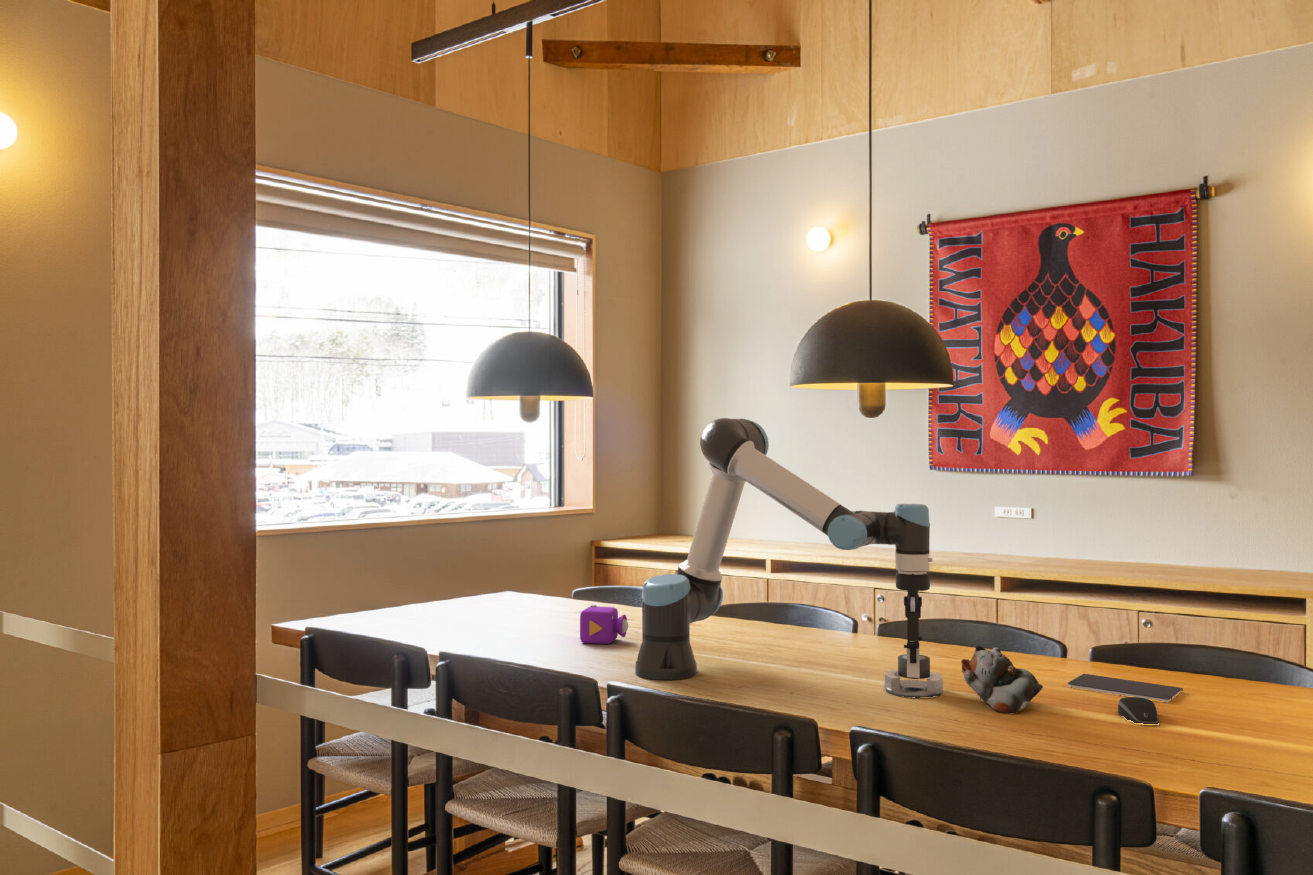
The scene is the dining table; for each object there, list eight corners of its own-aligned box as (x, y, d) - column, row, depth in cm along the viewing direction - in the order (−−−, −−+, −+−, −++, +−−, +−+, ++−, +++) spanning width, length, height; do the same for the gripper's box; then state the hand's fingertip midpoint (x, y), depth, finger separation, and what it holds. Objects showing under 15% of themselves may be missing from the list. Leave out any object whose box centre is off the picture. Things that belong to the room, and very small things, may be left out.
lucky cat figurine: (1015, 718, 193) (979, 655, 195) (973, 727, 202) (940, 667, 205) (1054, 686, 201) (1020, 627, 204) (1012, 696, 211) (980, 640, 213)
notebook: (1182, 694, 213) (1083, 679, 227) (1182, 687, 213) (1083, 673, 227) (1169, 706, 204) (1066, 689, 217) (1169, 698, 204) (1066, 683, 217)
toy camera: (627, 645, 265) (627, 609, 265) (578, 645, 265) (578, 609, 265) (629, 638, 276) (629, 603, 276) (582, 637, 276) (582, 603, 276)
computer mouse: (1129, 726, 188) (1128, 706, 188) (1112, 710, 200) (1112, 691, 200) (1167, 728, 186) (1167, 708, 186) (1148, 711, 198) (1148, 692, 198)
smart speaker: (921, 680, 210) (921, 662, 210) (892, 675, 214) (892, 657, 214) (935, 674, 215) (934, 656, 215) (906, 670, 220) (906, 652, 220)
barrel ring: (941, 686, 219) (941, 670, 219) (943, 700, 207) (942, 683, 207) (885, 682, 222) (885, 667, 222) (883, 696, 210) (883, 679, 210)
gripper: (930, 578, 204) (931, 684, 204) (929, 567, 223) (930, 664, 223) (894, 577, 206) (895, 682, 206) (896, 566, 225) (897, 662, 225)
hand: (913, 673), depth 215 cm, fingers closed on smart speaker, 7 cm apart
